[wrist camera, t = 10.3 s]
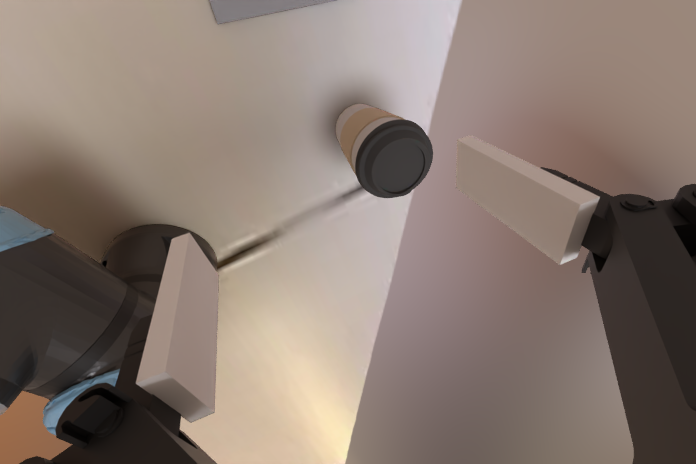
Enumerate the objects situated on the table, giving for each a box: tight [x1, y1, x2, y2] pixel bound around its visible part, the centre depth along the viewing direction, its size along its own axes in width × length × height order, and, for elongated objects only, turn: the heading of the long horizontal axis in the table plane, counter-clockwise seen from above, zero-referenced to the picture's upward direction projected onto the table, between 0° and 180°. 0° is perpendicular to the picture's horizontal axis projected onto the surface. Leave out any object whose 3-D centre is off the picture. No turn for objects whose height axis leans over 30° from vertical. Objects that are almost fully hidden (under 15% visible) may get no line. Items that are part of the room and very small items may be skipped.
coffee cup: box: [335, 104, 433, 198], centre depth 38 cm, size 9×9×15 cm
